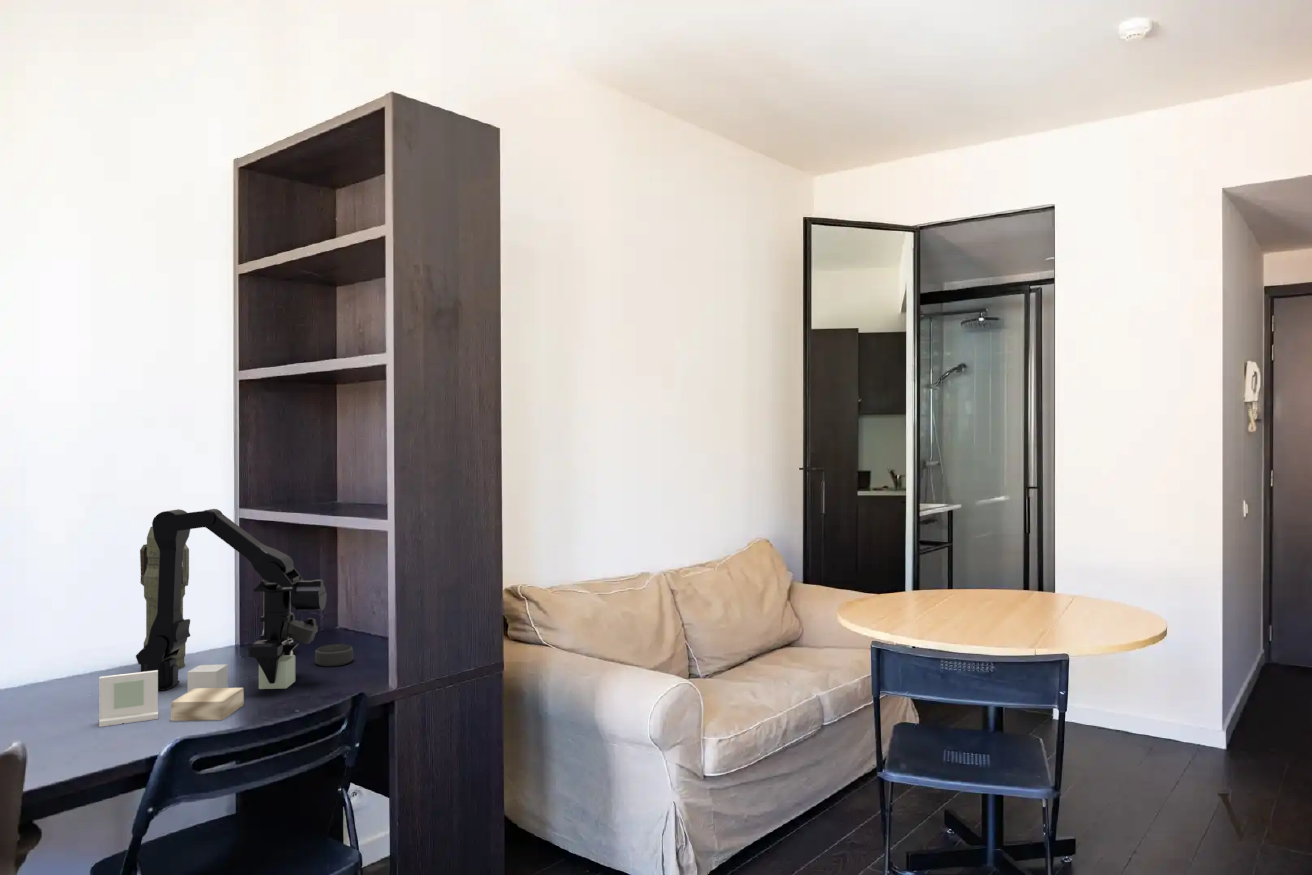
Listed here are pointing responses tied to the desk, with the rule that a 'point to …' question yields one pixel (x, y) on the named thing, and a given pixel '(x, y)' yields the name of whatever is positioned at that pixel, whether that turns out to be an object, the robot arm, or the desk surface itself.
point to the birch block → (207, 704)
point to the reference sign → (128, 698)
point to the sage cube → (280, 674)
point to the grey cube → (208, 677)
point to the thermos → (150, 583)
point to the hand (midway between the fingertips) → (277, 679)
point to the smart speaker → (334, 655)
